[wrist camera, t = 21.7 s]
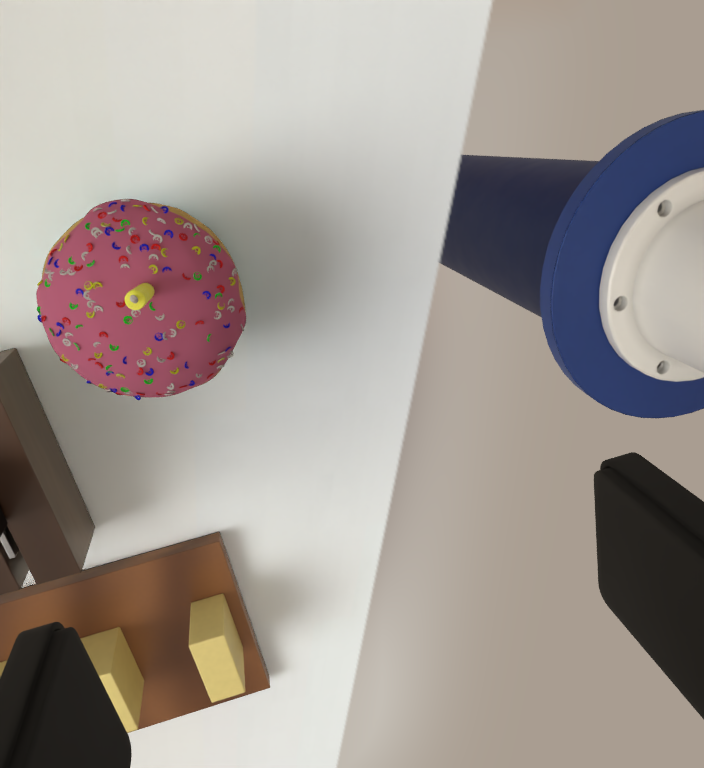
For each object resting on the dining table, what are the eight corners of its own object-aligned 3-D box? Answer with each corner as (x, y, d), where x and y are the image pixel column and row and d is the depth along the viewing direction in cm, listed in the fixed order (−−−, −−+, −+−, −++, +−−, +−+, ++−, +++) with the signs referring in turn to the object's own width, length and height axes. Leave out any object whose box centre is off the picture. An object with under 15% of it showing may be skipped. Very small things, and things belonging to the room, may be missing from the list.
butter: (120, 626, 36) (110, 672, 33) (144, 680, 38) (138, 729, 35) (-3, 662, 35) (-24, 713, 32) (29, 716, 37) (11, 770, 34)
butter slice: (223, 592, 37) (224, 635, 34) (243, 647, 39) (245, 692, 35) (190, 602, 37) (188, 646, 33) (211, 657, 38) (211, 703, 35)
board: (219, 531, 36) (219, 541, 36) (269, 675, 41) (270, 687, 40) (-99, 622, 34) (-107, 635, 34) (-8, 763, 39) (-13, 778, 38)
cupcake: (73, 172, 28) (-17, 192, 17) (257, 215, 30) (281, 257, 20) (55, 349, 31) (-33, 463, 20) (226, 376, 33) (232, 491, 22)
